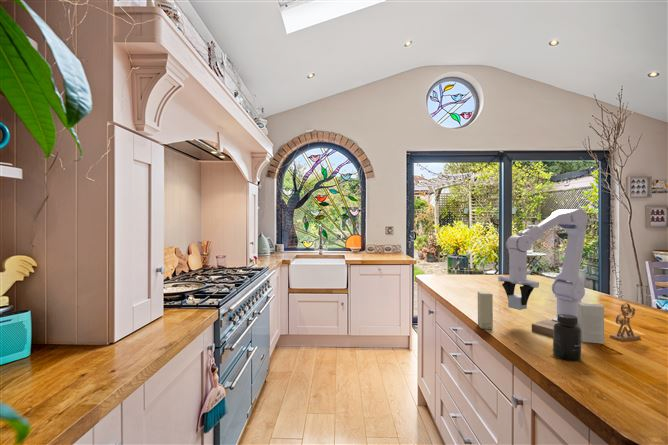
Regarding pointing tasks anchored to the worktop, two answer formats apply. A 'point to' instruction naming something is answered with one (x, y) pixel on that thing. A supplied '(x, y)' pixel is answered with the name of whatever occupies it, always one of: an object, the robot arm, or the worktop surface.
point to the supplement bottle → (567, 338)
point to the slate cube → (515, 302)
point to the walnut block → (544, 327)
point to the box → (485, 310)
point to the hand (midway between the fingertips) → (517, 303)
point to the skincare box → (591, 322)
